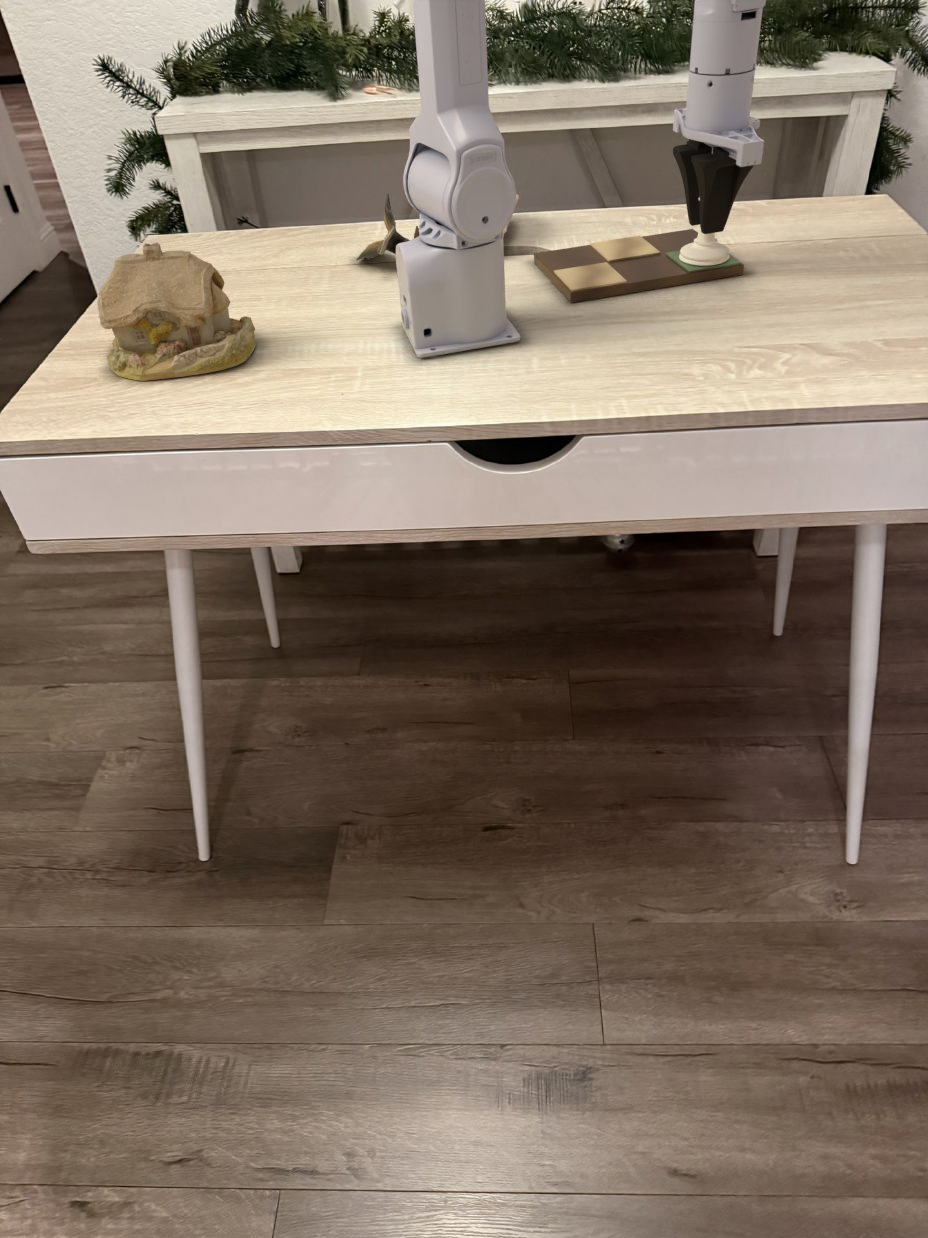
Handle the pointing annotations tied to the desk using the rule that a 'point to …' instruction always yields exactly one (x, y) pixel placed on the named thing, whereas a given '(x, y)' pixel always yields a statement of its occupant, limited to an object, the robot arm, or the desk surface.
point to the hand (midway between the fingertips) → (706, 227)
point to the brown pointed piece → (390, 239)
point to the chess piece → (704, 250)
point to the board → (628, 266)
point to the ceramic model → (170, 317)
